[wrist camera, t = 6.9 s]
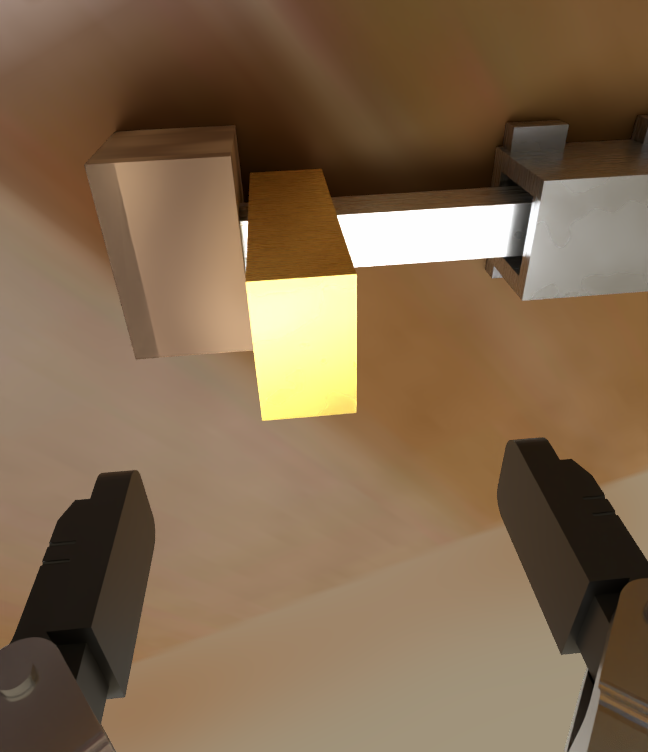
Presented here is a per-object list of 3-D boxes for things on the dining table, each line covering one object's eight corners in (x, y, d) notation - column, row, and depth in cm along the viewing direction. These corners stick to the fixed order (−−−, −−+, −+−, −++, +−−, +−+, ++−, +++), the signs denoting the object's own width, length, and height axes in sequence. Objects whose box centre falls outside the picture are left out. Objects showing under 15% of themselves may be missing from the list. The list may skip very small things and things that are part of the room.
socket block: (235, 125, 24) (230, 156, 20) (254, 295, 29) (254, 350, 25) (115, 131, 24) (84, 164, 20) (153, 302, 28) (135, 359, 24)
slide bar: (563, 154, 25) (726, 248, 16) (542, 257, 27) (672, 386, 19) (189, 176, 24) (151, 288, 15) (207, 281, 27) (182, 427, 18)
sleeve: (712, 111, 26) (803, 138, 21) (664, 257, 30) (733, 304, 25) (499, 123, 25) (549, 152, 21) (479, 270, 29) (518, 321, 25)
